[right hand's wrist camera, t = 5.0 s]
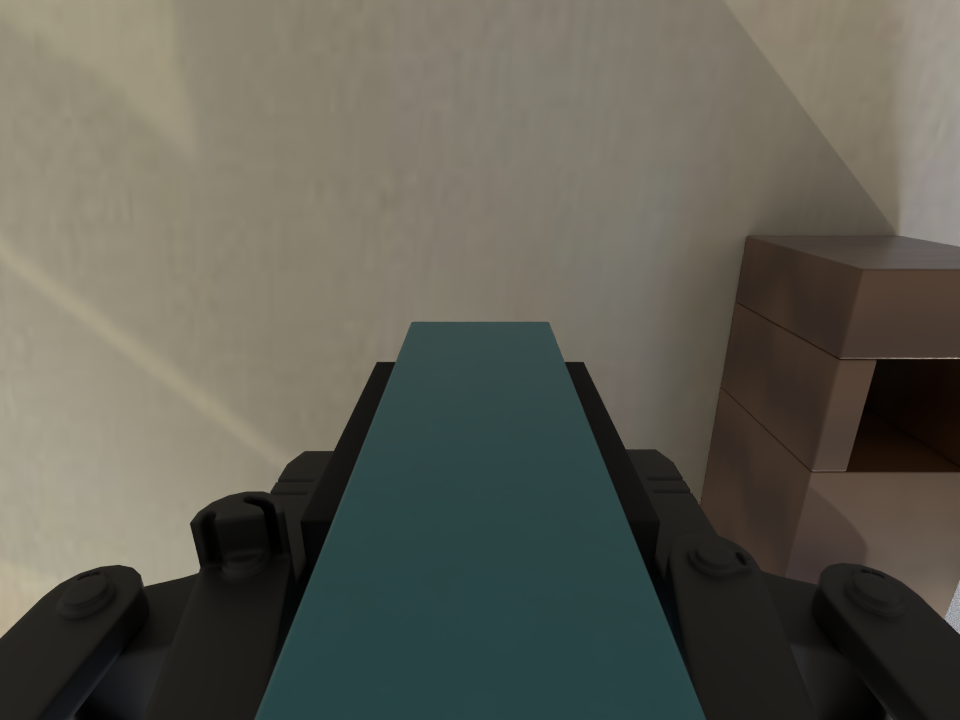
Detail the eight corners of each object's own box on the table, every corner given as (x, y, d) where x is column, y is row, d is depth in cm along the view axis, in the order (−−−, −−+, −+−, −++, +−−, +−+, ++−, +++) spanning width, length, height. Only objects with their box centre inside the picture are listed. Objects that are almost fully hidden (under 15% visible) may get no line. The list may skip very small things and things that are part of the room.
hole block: (746, 235, 28) (861, 269, 19) (900, 235, 28) (1083, 268, 19) (676, 641, 38) (733, 781, 29) (790, 641, 38) (880, 781, 29)
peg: (410, 320, 15) (35, 1251, 2) (549, 321, 15) (924, 1251, 2) (416, 442, 17) (203, 1427, 4) (543, 442, 17) (756, 1430, 4)
